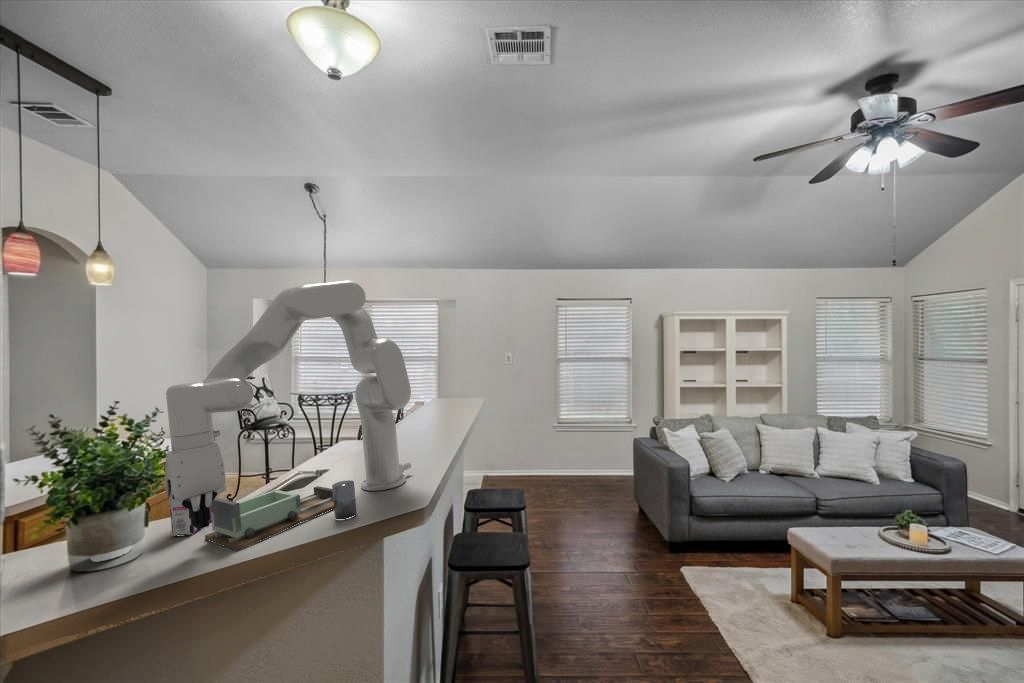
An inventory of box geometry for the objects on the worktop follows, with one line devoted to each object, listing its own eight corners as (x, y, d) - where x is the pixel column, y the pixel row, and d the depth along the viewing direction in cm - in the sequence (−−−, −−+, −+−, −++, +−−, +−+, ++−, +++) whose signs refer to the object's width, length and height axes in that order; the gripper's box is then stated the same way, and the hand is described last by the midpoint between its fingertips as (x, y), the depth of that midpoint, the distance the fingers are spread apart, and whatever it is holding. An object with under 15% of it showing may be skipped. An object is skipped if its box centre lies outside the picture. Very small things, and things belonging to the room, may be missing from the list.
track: (315, 497, 130) (313, 485, 130) (347, 503, 122) (346, 490, 122) (205, 539, 106) (203, 524, 106) (237, 551, 99) (236, 535, 99)
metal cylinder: (347, 511, 117) (345, 479, 117) (361, 514, 114) (358, 481, 114) (330, 518, 113) (327, 486, 113) (344, 522, 110) (341, 488, 110)
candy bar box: (194, 535, 109) (187, 466, 109) (171, 538, 109) (164, 468, 109) (219, 516, 121) (213, 453, 120) (199, 519, 120) (192, 455, 120)
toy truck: (274, 508, 119) (272, 477, 119) (304, 515, 113) (301, 482, 112) (210, 532, 107) (207, 498, 106) (239, 542, 100) (235, 505, 100)
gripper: (221, 432, 107) (229, 511, 108) (143, 449, 95) (152, 538, 95) (238, 434, 103) (246, 516, 104) (159, 451, 91) (169, 545, 91)
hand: (201, 526), depth 100 cm, fingers closed
